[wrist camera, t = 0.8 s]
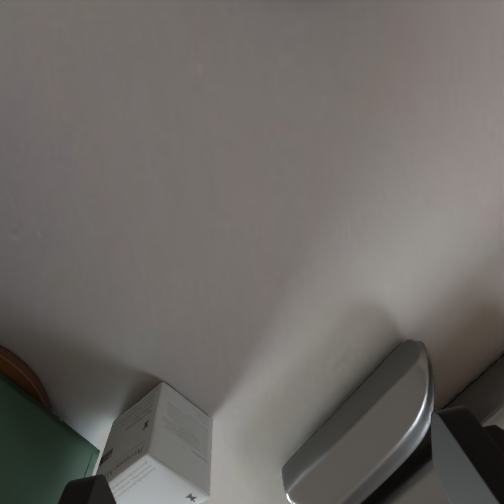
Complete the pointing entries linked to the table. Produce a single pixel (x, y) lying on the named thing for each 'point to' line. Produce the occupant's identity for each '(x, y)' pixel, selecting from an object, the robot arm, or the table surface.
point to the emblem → (386, 436)
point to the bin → (37, 450)
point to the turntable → (22, 377)
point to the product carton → (159, 451)
